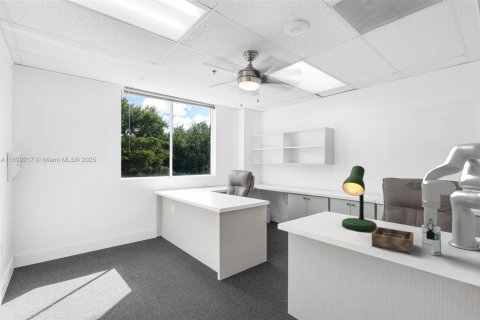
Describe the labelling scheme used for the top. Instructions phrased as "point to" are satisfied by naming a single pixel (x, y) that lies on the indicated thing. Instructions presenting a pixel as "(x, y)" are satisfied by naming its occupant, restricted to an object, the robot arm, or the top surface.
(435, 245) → the syrup box
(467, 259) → the top surface
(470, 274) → the top surface
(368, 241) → the top surface
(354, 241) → the top surface
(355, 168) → the desk lamp
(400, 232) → the walled box
